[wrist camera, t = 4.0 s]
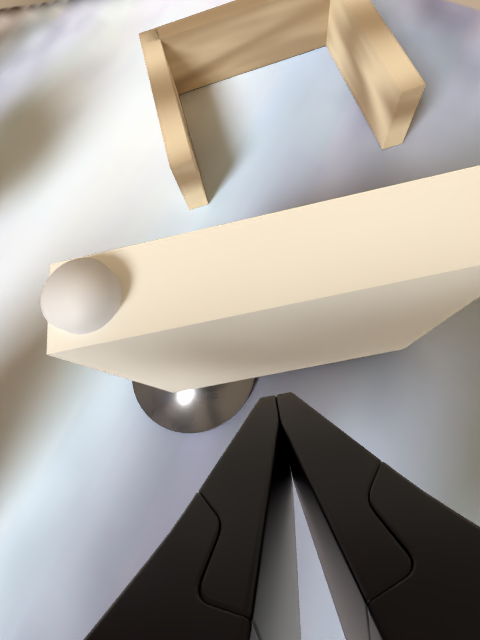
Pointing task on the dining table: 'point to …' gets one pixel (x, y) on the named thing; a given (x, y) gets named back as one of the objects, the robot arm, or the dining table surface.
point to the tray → (272, 46)
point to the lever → (273, 288)
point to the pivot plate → (193, 405)
